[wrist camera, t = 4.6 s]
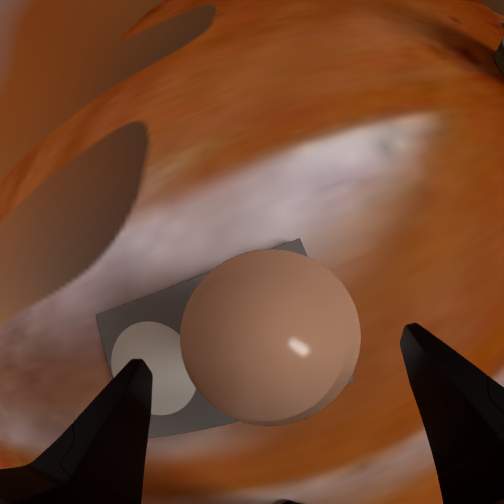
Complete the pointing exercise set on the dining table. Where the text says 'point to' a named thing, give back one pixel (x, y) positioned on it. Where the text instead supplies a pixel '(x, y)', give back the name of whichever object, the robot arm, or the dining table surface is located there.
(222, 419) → the slate board
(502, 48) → the labelled canister
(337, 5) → the dining table surface
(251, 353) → the light brown tall cylinder
